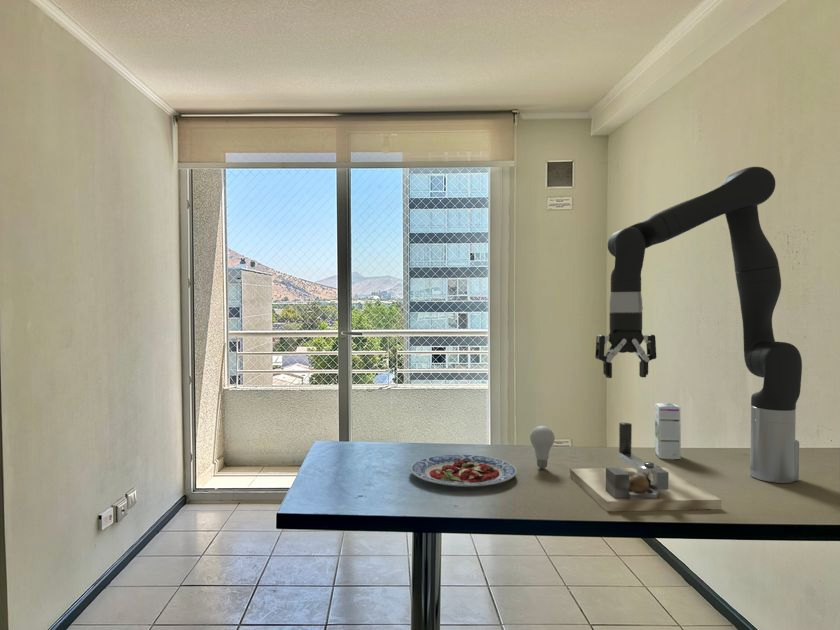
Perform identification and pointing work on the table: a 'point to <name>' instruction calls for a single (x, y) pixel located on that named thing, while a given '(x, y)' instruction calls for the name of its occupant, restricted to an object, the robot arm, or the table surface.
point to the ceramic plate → (463, 470)
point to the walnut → (638, 484)
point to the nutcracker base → (617, 496)
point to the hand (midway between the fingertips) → (625, 377)
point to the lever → (643, 468)
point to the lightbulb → (542, 444)
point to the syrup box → (667, 431)
